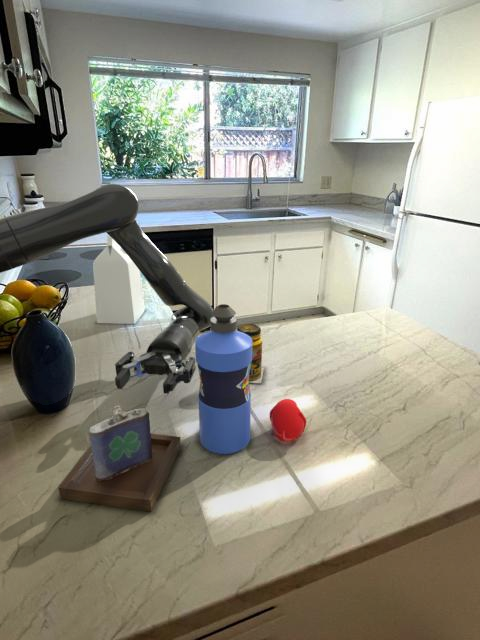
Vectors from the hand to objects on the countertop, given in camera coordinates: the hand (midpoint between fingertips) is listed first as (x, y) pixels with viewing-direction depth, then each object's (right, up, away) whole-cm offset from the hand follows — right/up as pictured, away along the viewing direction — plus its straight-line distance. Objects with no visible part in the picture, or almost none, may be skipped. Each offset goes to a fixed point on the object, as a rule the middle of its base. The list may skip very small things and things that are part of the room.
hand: (141, 386), depth 69 cm
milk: (-20, +12, +58) cm, 63 cm away
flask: (-1, -12, -5) cm, 13 cm away
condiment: (+18, -1, +24) cm, 30 cm away
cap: (+26, -9, +4) cm, 28 cm away
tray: (-1, -13, -5) cm, 14 cm away
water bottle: (+14, -10, +3) cm, 18 cm away
